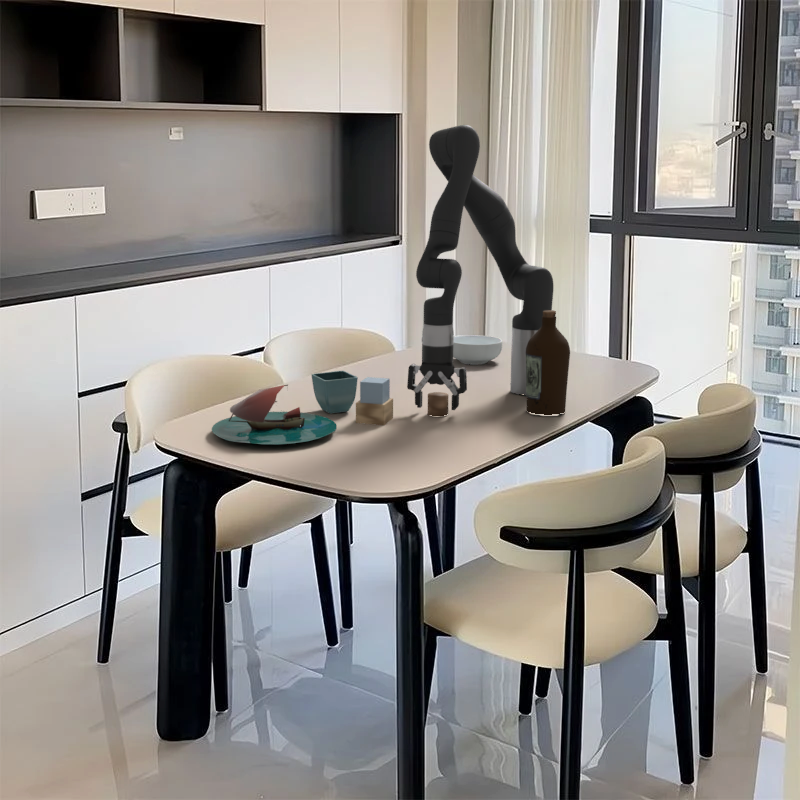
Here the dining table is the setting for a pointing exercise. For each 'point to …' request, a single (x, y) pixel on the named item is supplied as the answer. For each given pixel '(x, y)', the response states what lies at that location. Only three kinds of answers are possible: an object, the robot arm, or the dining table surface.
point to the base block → (374, 412)
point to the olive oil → (547, 368)
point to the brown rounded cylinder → (437, 404)
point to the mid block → (374, 390)
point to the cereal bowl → (476, 348)
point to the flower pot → (335, 390)
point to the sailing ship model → (270, 422)
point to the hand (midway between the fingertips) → (436, 408)
